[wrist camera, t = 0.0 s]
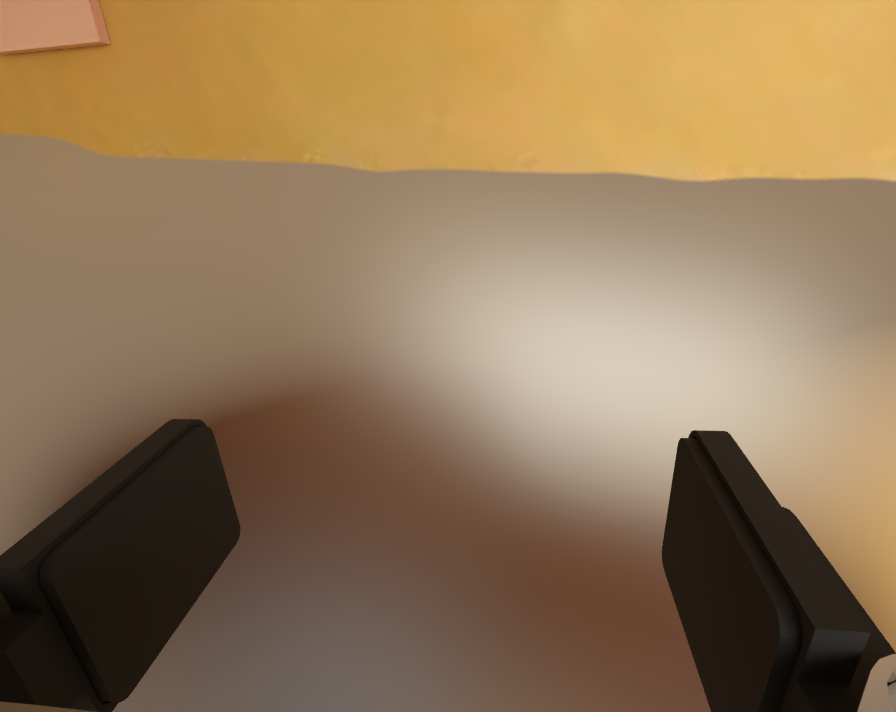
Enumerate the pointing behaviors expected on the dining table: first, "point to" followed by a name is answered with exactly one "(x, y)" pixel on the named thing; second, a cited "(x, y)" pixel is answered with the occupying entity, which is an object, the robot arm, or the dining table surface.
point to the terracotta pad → (50, 25)
